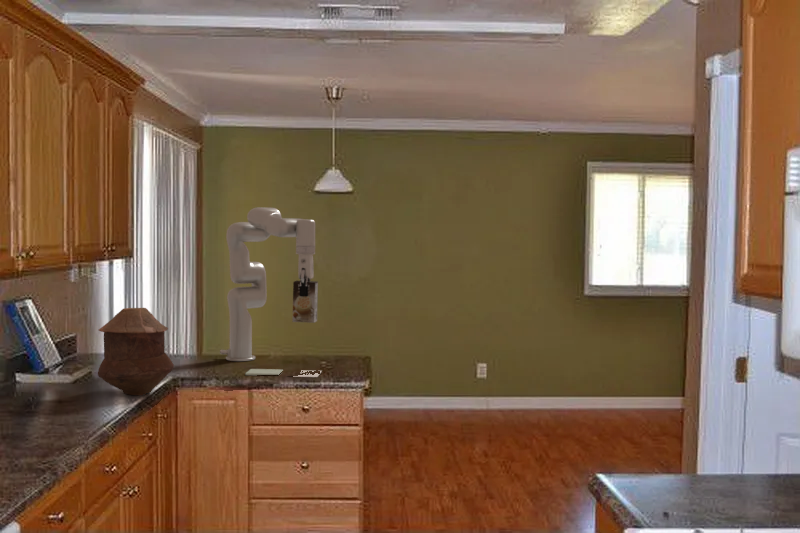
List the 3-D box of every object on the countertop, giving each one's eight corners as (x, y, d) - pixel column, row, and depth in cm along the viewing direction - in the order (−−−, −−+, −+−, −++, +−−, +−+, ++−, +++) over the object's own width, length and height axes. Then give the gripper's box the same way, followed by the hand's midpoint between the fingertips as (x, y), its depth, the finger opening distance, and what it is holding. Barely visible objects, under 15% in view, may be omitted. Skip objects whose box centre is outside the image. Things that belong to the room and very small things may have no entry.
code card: (286, 376, 342) (286, 376, 342) (292, 370, 356) (292, 370, 356) (317, 377, 342) (317, 376, 342) (322, 371, 356) (322, 370, 356)
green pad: (245, 375, 344) (245, 373, 344) (250, 370, 354) (250, 368, 354) (278, 375, 343) (278, 373, 343) (282, 371, 353) (282, 369, 353)
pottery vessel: (134, 403, 290) (133, 313, 288) (80, 395, 302) (80, 308, 301) (188, 390, 312) (188, 306, 311) (136, 383, 325) (136, 302, 323)
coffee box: (291, 322, 345) (292, 281, 344) (295, 320, 352) (295, 280, 351) (314, 322, 344) (315, 282, 343) (317, 320, 351) (318, 280, 350)
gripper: (311, 251, 338) (311, 297, 339) (318, 249, 355) (317, 293, 356) (292, 251, 338) (292, 297, 339) (299, 249, 355) (299, 293, 356)
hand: (305, 295), depth 347 cm, fingers closed on coffee box, 6 cm apart
